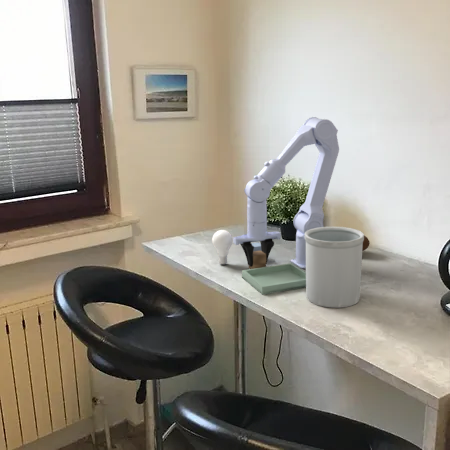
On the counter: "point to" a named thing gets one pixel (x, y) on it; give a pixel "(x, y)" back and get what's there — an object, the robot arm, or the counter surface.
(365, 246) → the potato
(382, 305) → the counter surface
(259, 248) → the bluegrey block
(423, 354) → the counter surface
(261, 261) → the walnut block
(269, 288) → the tray
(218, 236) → the lightbulb
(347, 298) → the utensil holder
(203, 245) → the counter surface
